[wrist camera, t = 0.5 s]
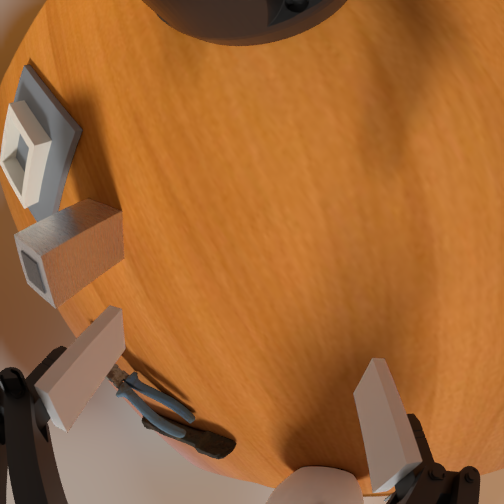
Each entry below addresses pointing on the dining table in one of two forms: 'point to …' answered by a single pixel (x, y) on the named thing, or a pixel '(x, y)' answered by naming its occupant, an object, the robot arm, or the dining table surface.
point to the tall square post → (70, 249)
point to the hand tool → (199, 440)
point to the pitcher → (318, 487)
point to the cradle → (38, 145)
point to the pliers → (133, 382)
